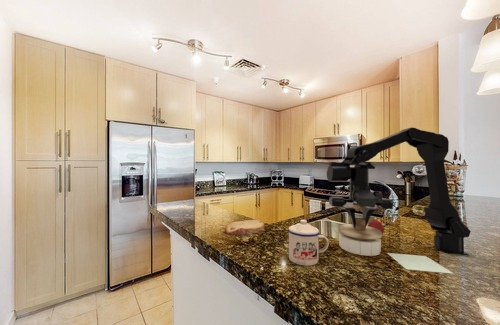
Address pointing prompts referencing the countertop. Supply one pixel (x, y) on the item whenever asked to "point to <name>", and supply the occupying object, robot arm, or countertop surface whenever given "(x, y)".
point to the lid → (360, 230)
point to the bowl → (360, 245)
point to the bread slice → (244, 227)
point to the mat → (418, 263)
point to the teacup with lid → (305, 243)
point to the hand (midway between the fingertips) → (359, 227)
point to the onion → (376, 225)
